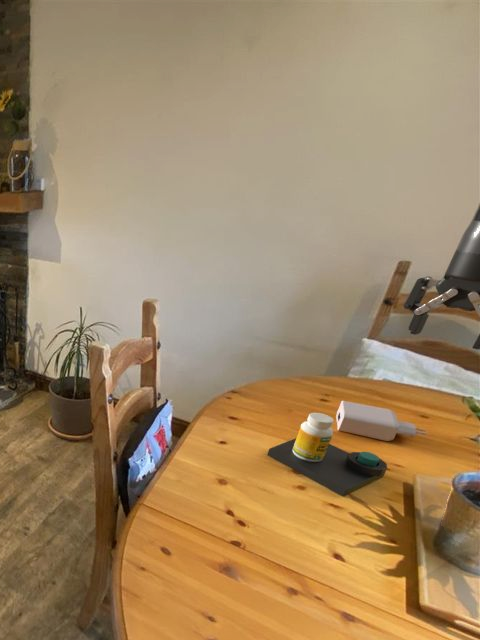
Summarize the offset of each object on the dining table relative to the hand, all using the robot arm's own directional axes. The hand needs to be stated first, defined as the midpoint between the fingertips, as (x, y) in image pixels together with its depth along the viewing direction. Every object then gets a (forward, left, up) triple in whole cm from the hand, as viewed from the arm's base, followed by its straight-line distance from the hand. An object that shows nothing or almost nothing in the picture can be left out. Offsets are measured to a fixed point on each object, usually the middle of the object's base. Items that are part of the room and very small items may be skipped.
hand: (445, 340), depth 76 cm
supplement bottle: (+7, +14, -26) cm, 31 cm away
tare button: (0, +8, -25) cm, 26 cm away
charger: (+7, -12, -28) cm, 32 cm away
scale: (+5, +12, -28) cm, 31 cm away
